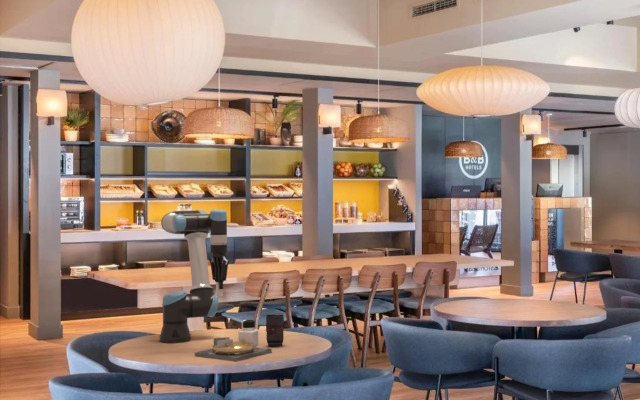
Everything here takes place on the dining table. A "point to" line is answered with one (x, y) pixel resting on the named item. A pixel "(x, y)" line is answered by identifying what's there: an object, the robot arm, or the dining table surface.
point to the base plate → (233, 357)
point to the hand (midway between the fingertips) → (219, 296)
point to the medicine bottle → (249, 332)
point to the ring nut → (231, 346)
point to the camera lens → (274, 329)
